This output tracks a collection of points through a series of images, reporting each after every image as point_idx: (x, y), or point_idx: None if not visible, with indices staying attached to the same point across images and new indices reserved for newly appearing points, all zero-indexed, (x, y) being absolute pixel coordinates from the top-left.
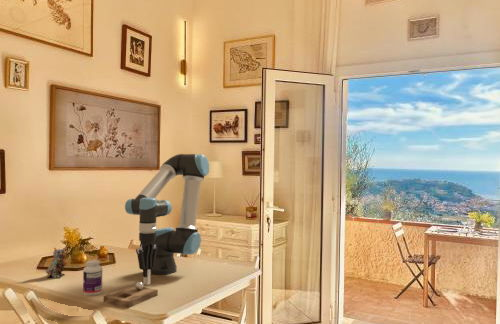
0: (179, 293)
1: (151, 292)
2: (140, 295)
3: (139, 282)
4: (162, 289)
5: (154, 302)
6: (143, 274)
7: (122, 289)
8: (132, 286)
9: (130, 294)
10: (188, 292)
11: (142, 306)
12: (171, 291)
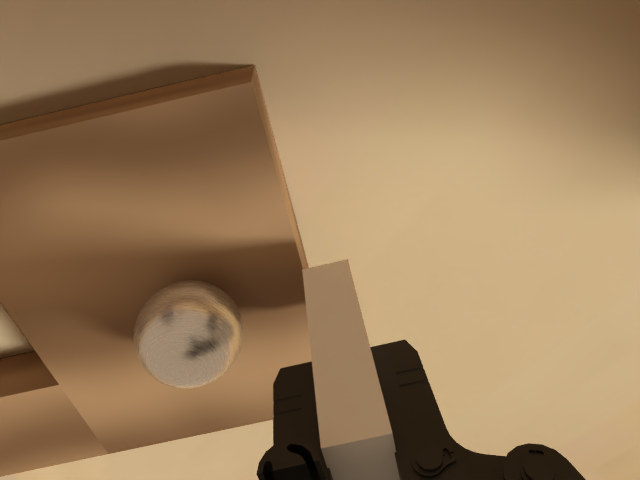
0: (482, 422)
1: (248, 423)
2: (115, 431)
3: (174, 381)
4: (493, 267)
5: (210, 454)
6: (276, 415)
7: (11, 145)
8: (200, 128)
9: (39, 354)
10: (537, 441)
11: (91, 464)
12: (489, 357)
